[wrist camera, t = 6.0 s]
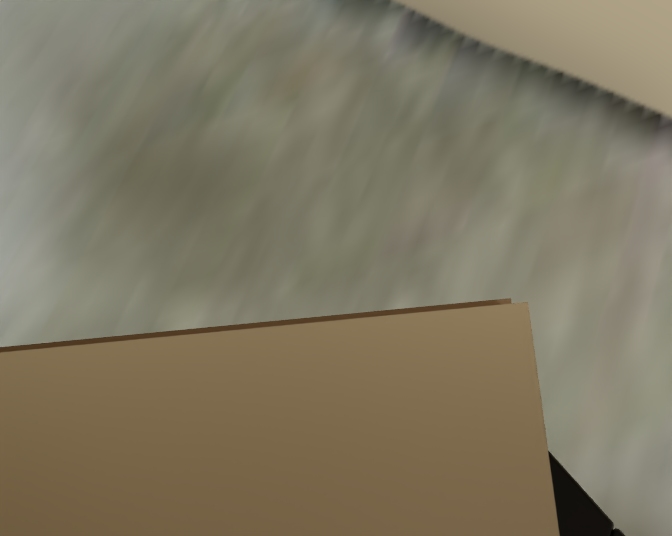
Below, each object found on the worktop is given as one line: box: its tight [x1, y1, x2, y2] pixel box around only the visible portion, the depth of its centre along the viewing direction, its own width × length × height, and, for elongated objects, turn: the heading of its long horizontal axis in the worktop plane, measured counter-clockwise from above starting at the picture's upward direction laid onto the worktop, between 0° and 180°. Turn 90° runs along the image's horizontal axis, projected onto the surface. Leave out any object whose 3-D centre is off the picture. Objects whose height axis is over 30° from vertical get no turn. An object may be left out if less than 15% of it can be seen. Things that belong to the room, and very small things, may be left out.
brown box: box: [0, 298, 560, 536], centre depth 9 cm, size 4×4×12 cm
